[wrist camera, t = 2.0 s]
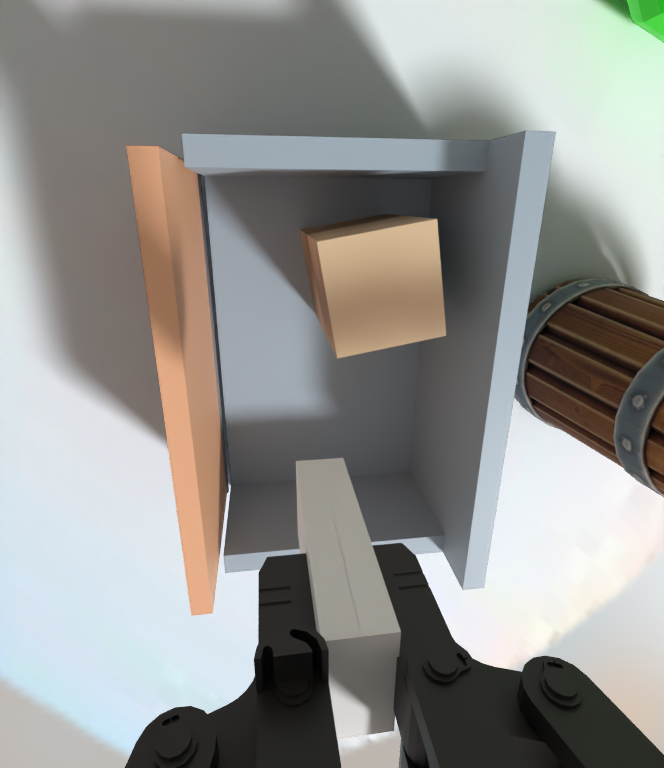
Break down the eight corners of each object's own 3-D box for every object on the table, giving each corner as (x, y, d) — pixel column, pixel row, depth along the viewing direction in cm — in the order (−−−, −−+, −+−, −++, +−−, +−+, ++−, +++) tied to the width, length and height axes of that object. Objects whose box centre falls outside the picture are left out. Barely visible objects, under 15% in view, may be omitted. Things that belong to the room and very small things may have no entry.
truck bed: (205, 154, 26) (167, 121, 16) (444, 158, 28) (555, 131, 17) (233, 487, 34) (221, 616, 24) (418, 474, 36) (483, 587, 25)
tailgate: (178, 168, 25) (122, 145, 15) (201, 168, 26) (160, 146, 15) (211, 486, 33) (189, 615, 23) (229, 485, 33) (214, 612, 23)
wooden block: (299, 229, 27) (316, 241, 19) (383, 213, 27) (437, 218, 19) (315, 313, 29) (337, 358, 21) (393, 297, 29) (446, 335, 21)
